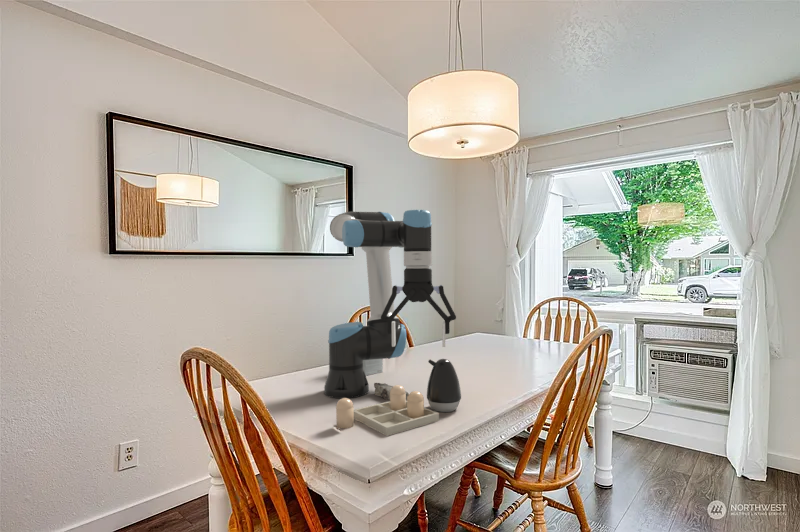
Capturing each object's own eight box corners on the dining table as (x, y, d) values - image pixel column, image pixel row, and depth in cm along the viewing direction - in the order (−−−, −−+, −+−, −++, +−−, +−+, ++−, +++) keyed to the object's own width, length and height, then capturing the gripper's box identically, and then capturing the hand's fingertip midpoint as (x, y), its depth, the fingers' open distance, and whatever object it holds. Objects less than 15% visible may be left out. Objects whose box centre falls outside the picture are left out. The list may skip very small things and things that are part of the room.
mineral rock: (415, 402, 140) (415, 388, 140) (393, 407, 136) (393, 392, 136) (391, 391, 153) (391, 378, 153) (371, 395, 149) (371, 382, 149)
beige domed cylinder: (387, 411, 130) (386, 384, 130) (399, 408, 133) (399, 382, 133) (396, 415, 126) (395, 388, 126) (409, 412, 129) (408, 385, 129)
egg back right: (404, 419, 123) (403, 391, 123) (417, 415, 126) (416, 388, 126) (414, 423, 119) (414, 394, 119) (427, 420, 122) (427, 391, 122)
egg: (333, 426, 120) (333, 397, 120) (348, 423, 122) (347, 394, 122) (341, 431, 116) (341, 401, 116) (357, 427, 119) (356, 398, 119)
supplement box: (351, 372, 182) (350, 330, 182) (368, 368, 188) (368, 328, 188) (365, 376, 174) (364, 333, 174) (383, 372, 181) (382, 330, 181)
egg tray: (351, 419, 125) (351, 410, 125) (401, 406, 136) (401, 398, 136) (387, 437, 111) (386, 427, 111) (439, 422, 122) (439, 413, 122)
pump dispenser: (438, 402, 139) (438, 354, 139) (467, 408, 133) (467, 358, 133) (419, 411, 132) (418, 359, 132) (449, 418, 125) (448, 364, 125)
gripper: (369, 268, 118) (370, 348, 118) (465, 267, 115) (465, 348, 116) (374, 267, 125) (375, 343, 125) (463, 266, 123) (464, 343, 123)
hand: (418, 346), depth 120 cm, fingers open, 13 cm apart
